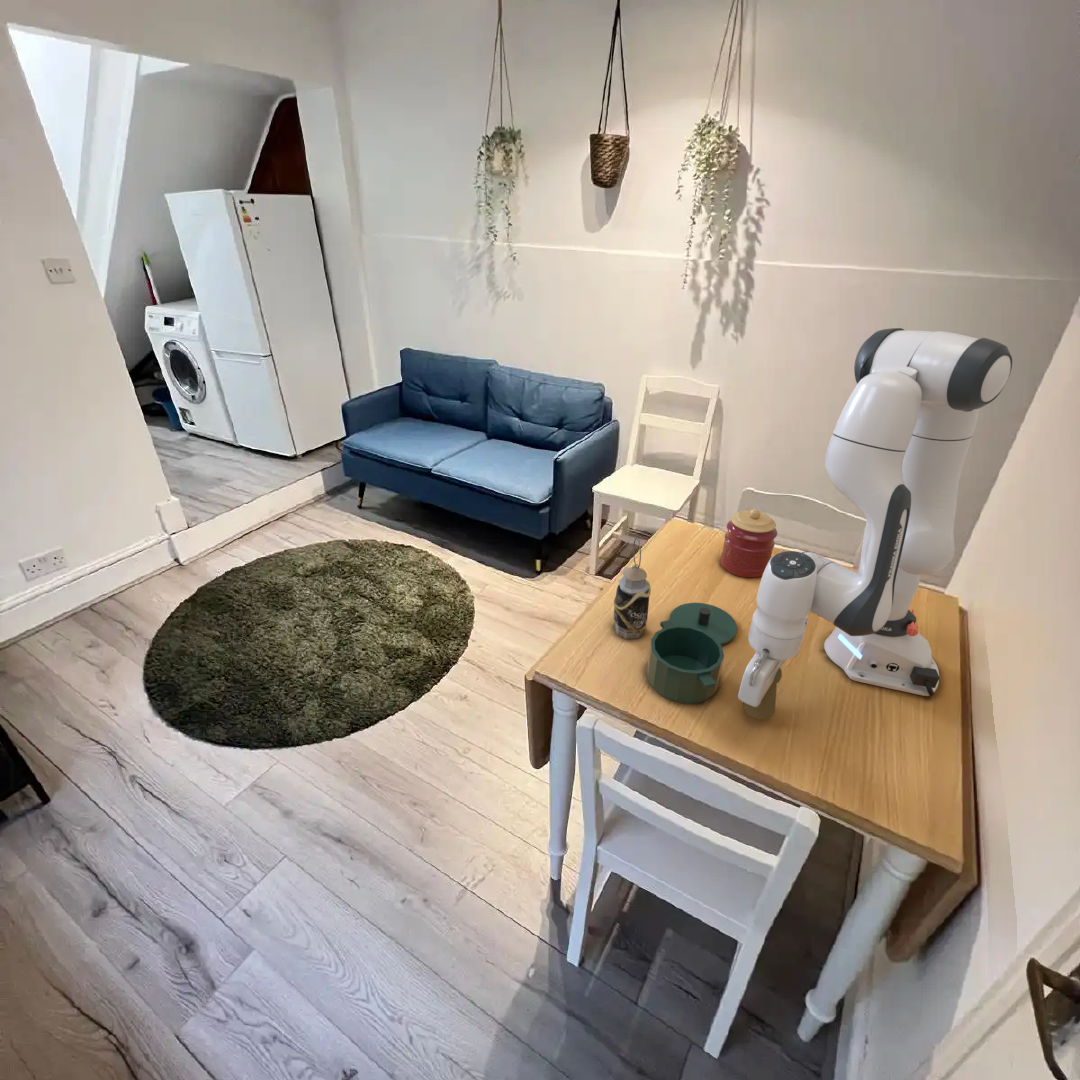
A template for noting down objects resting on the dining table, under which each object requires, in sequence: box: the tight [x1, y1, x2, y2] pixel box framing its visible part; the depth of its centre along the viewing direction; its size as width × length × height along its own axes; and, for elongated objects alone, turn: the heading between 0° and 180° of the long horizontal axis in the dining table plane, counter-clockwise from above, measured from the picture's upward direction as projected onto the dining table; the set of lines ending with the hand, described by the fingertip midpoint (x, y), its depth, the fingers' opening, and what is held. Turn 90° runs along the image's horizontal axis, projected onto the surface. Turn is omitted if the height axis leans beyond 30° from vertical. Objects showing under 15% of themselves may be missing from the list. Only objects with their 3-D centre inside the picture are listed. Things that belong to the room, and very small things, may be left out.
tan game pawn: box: [742, 668, 783, 720], centre depth 110 cm, size 6×6×11 cm
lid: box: [668, 602, 738, 646], centre depth 136 cm, size 16×16×5 cm
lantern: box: [613, 537, 652, 640], centre depth 130 cm, size 9×8×25 cm
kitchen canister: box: [720, 508, 778, 579], centre depth 156 cm, size 13×13×18 cm
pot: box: [646, 619, 725, 705], centre depth 121 cm, size 15×20×8 cm
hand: (762, 692), depth 110 cm, fingers closed on tan game pawn, 4 cm apart
